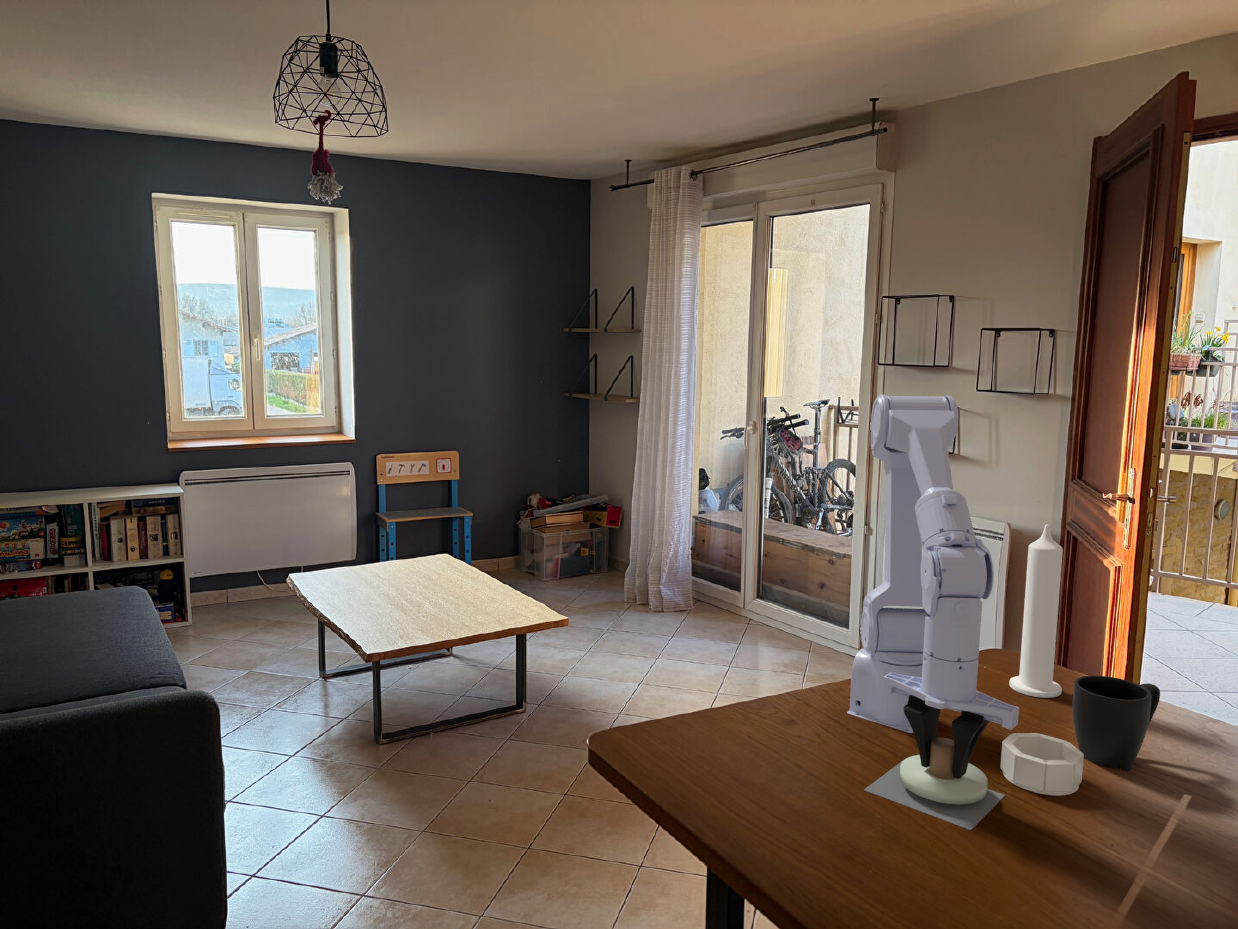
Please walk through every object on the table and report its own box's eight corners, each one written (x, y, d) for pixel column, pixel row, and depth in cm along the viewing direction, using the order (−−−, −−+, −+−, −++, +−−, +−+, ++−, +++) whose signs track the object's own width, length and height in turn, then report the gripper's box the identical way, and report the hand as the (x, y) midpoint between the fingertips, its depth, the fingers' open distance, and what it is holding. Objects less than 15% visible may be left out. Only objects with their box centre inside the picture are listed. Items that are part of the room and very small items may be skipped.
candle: (1057, 683, 132) (1070, 521, 129) (1065, 701, 126) (1078, 530, 123) (1007, 677, 135) (1018, 518, 131) (1011, 694, 128) (1023, 527, 125)
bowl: (992, 782, 101) (994, 748, 101) (1016, 760, 107) (1018, 727, 107) (1066, 807, 96) (1069, 771, 96) (1087, 782, 102) (1090, 748, 101)
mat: (863, 794, 98) (863, 789, 98) (902, 765, 106) (903, 760, 106) (970, 835, 90) (970, 830, 90) (1005, 800, 98) (1005, 795, 97)
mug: (1183, 766, 106) (1190, 691, 105) (1110, 782, 102) (1117, 704, 101) (1123, 738, 114) (1129, 668, 112) (1053, 752, 109) (1058, 679, 108)
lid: (885, 783, 98) (887, 744, 97) (920, 756, 105) (922, 719, 104) (967, 814, 92) (970, 771, 91) (999, 782, 99) (1002, 743, 98)
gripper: (872, 646, 98) (866, 760, 100) (1005, 680, 88) (996, 806, 90) (900, 631, 103) (894, 740, 105) (1029, 662, 94) (1020, 781, 95)
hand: (943, 769), depth 98 cm, fingers closed on lid, 3 cm apart
